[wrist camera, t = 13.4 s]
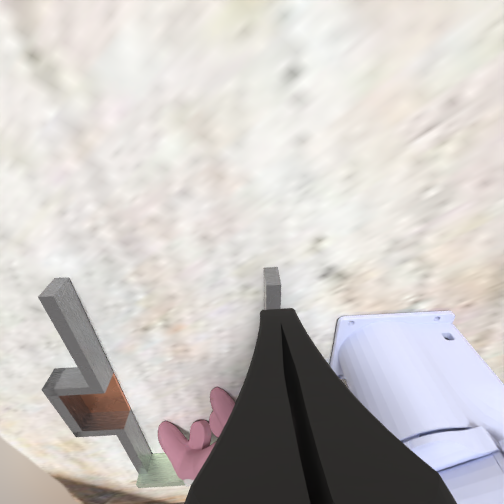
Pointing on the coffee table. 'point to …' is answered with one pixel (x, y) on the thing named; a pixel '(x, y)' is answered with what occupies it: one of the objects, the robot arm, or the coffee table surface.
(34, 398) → the coffee table surface
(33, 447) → the coffee table surface
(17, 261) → the coffee table surface
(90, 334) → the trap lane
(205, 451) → the video game controller
